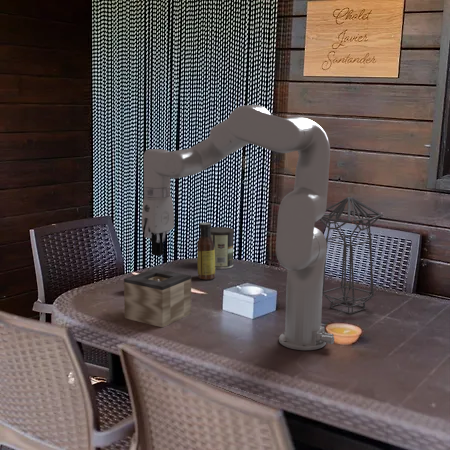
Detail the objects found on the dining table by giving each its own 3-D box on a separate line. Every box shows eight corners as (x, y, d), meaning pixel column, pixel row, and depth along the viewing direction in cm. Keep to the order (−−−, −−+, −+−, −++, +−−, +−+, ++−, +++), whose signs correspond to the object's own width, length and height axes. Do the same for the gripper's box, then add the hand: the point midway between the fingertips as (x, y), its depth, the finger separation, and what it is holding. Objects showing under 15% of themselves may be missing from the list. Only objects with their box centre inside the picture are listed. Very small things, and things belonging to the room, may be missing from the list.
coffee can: (224, 261, 268) (225, 225, 266) (238, 267, 260) (239, 230, 257) (201, 264, 263) (201, 228, 260) (214, 270, 255) (215, 233, 252)
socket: (191, 314, 206) (191, 275, 204) (162, 327, 195) (162, 286, 192) (154, 305, 214) (153, 268, 211) (124, 318, 202) (124, 278, 200)
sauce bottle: (218, 277, 246) (219, 222, 242) (208, 281, 240) (209, 225, 236) (203, 274, 249) (203, 220, 245) (193, 278, 244) (193, 223, 240)
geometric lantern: (350, 320, 203) (352, 203, 196) (311, 307, 215) (312, 197, 208) (383, 308, 213) (387, 197, 206) (344, 297, 225) (346, 191, 218)
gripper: (151, 197, 189) (151, 262, 192) (183, 190, 201) (182, 251, 205) (130, 194, 192) (130, 258, 196) (162, 188, 205) (162, 248, 209)
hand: (157, 254), depth 200 cm, fingers closed
